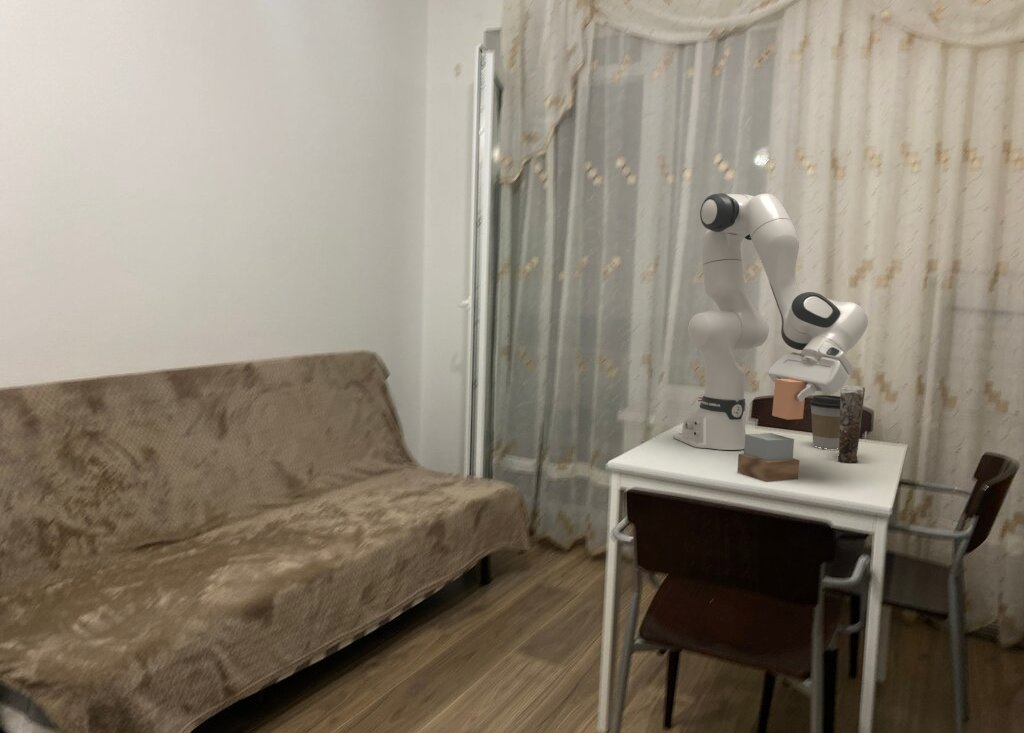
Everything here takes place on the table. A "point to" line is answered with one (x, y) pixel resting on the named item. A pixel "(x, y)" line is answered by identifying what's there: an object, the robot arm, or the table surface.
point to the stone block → (850, 421)
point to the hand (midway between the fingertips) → (787, 397)
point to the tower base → (768, 468)
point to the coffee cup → (825, 421)
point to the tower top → (769, 447)
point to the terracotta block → (788, 399)
